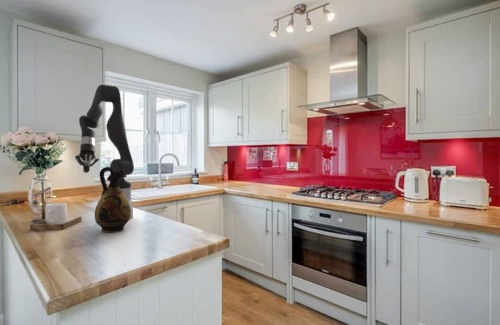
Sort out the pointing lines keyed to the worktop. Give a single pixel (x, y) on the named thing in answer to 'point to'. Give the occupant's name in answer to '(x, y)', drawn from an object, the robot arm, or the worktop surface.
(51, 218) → the mug
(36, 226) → the tray frame
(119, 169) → the robot arm
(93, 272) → the worktop surface
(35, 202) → the balance
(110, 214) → the ceramic jug
